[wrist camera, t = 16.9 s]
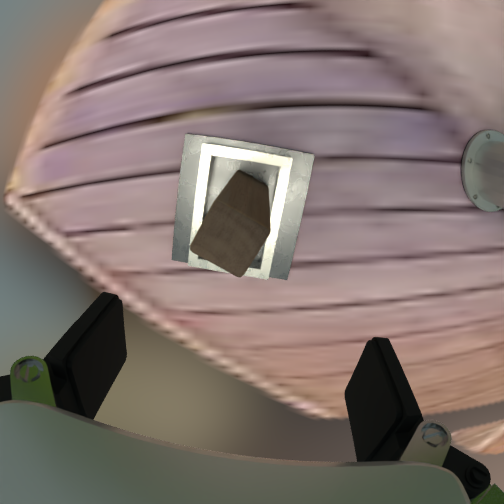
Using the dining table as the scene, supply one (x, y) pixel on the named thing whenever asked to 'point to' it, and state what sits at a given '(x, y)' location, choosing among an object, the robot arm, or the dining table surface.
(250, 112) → the dining table surface
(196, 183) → the end cap
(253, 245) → the wooden block
